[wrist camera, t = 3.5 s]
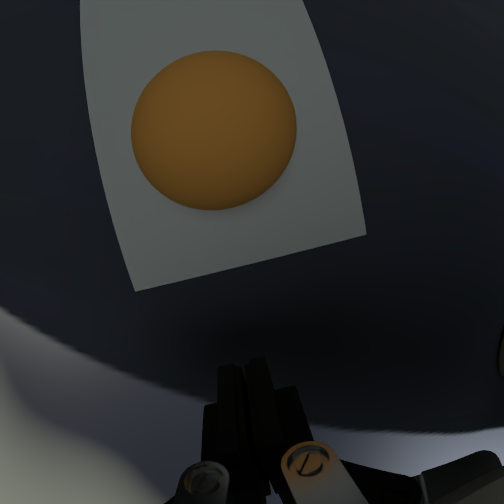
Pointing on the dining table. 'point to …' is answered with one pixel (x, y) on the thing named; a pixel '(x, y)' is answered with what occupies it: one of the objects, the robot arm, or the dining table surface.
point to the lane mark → (251, 213)
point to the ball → (213, 130)
